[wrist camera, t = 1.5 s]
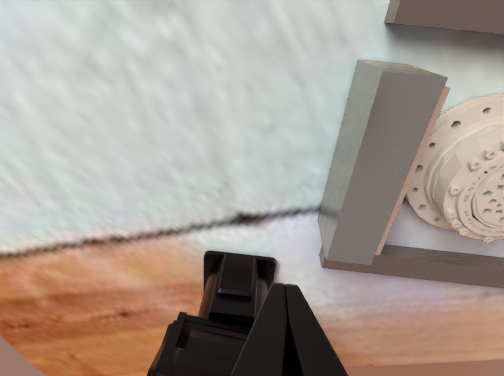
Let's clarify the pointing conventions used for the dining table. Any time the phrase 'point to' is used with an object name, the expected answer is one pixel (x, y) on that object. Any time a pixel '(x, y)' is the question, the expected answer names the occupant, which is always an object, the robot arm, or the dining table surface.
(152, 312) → the dining table surface
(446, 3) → the vise
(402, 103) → the block
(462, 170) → the mechanical component
